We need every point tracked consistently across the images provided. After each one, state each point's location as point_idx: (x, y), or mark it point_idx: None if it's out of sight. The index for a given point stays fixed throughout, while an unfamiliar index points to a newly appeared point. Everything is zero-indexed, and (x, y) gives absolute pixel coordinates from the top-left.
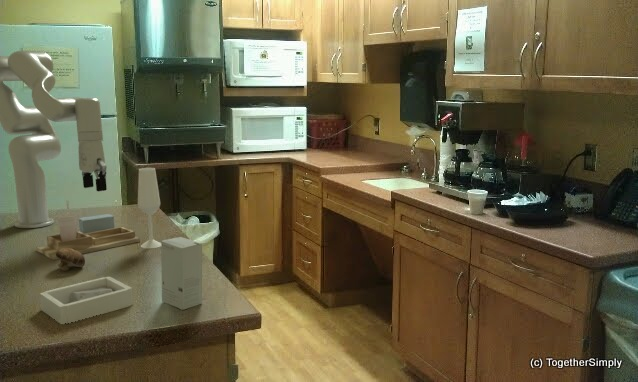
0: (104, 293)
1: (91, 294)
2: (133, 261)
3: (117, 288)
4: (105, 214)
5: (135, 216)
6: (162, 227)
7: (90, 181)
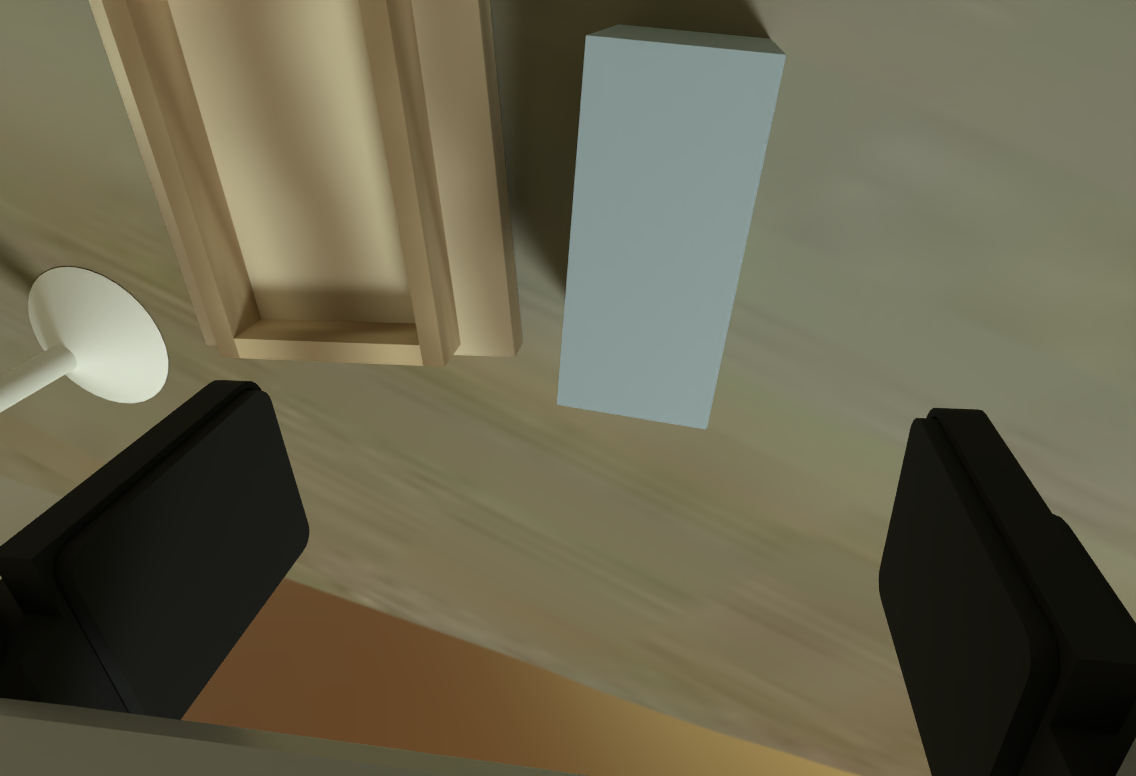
0: None
1: None
2: None
3: None
4: (706, 389)
5: None
6: (516, 607)
7: (924, 644)
